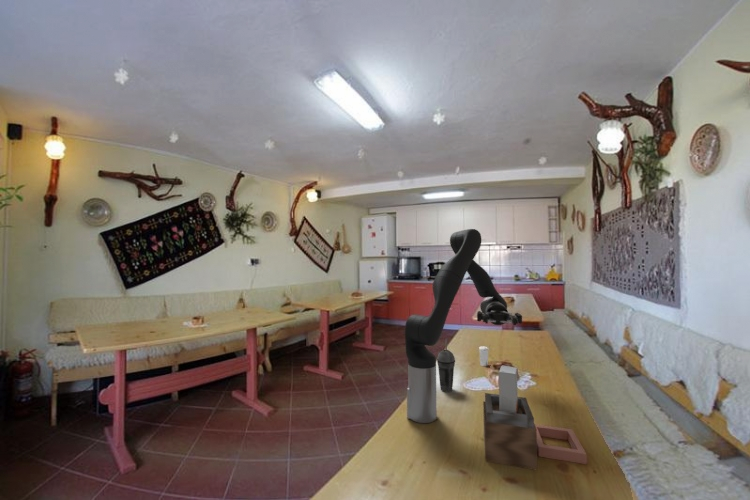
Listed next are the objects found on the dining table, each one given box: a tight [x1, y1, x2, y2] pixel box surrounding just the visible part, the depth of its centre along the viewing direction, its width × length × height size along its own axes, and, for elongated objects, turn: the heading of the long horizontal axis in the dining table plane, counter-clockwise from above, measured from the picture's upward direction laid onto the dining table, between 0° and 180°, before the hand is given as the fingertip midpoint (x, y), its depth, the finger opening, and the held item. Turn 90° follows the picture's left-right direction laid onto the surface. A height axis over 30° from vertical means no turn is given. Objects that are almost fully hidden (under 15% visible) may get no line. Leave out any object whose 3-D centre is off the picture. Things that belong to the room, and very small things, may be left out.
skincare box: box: [498, 365, 519, 413], centre depth 85 cm, size 6×4×12 cm
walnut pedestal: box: [482, 392, 538, 471], centre depth 84 cm, size 12×12×12 cm
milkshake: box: [478, 345, 491, 367], centre depth 152 cm, size 4×5×10 cm
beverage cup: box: [436, 338, 456, 393], centre depth 124 cm, size 7×7×20 cm
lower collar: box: [534, 423, 588, 465], centre depth 86 cm, size 11×12×2 cm
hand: (500, 321), depth 100 cm, fingers open, 8 cm apart
